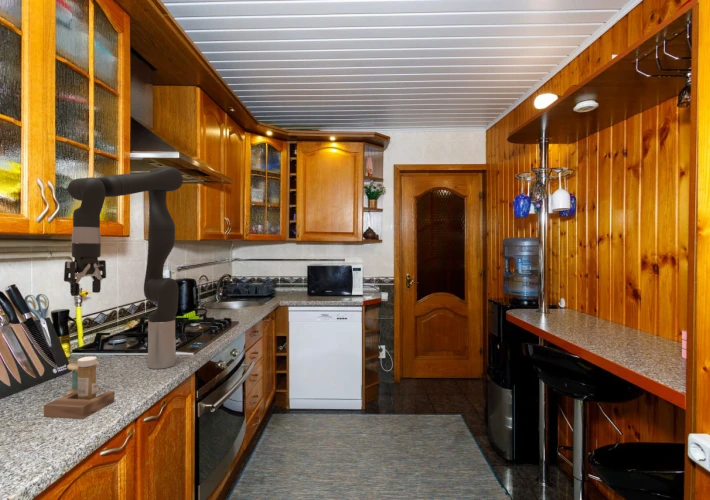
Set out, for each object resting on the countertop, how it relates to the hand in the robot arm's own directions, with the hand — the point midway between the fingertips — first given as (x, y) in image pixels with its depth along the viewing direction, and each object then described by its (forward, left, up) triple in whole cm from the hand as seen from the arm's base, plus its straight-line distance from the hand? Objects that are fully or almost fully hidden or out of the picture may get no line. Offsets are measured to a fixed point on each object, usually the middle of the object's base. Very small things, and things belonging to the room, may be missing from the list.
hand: (86, 294), depth 126 cm
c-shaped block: (+13, +10, -30) cm, 34 cm away
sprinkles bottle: (+11, +10, -30) cm, 34 cm away
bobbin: (+2, +1, -30) cm, 30 cm away
